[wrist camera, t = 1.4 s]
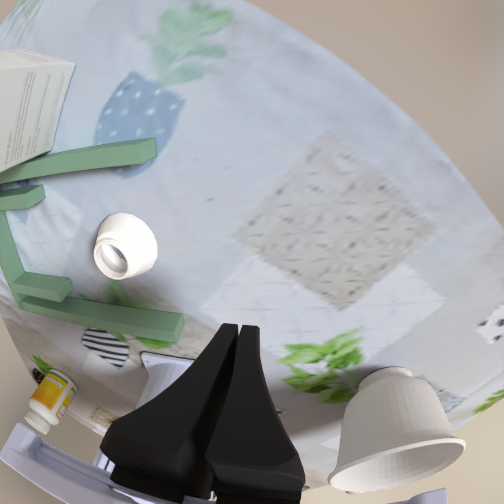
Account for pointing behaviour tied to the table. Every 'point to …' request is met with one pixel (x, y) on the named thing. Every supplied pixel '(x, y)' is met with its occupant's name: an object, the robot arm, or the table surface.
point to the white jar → (125, 246)
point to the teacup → (393, 434)
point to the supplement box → (30, 103)
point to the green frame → (57, 288)
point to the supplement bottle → (50, 400)
